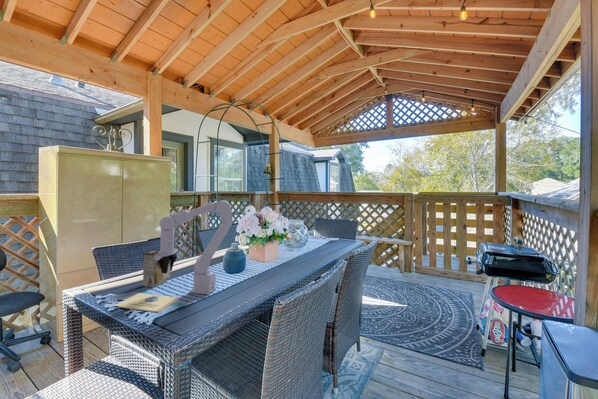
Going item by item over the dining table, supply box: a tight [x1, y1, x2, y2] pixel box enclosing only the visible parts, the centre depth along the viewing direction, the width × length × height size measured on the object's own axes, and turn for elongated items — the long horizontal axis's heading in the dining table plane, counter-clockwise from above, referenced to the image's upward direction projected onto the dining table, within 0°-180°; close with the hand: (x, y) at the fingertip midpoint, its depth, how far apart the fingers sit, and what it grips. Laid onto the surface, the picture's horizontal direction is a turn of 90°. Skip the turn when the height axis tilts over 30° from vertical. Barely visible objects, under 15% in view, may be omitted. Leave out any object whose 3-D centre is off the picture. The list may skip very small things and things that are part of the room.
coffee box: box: [142, 249, 167, 288], centre depth 141 cm, size 9×6×16 cm
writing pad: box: [113, 292, 181, 313], centre depth 120 cm, size 20×14×1 cm
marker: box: [163, 260, 171, 279], centre depth 131 cm, size 3×3×8 cm
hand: (166, 272), depth 131 cm, fingers closed on marker, 3 cm apart
